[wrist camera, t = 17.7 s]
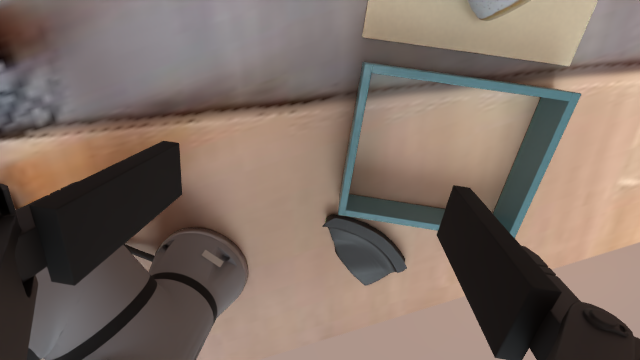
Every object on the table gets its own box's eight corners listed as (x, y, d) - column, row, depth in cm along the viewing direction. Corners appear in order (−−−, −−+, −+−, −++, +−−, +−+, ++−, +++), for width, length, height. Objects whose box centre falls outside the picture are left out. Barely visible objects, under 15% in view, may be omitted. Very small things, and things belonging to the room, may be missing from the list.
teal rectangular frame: (339, 198, 44) (337, 214, 40) (362, 61, 37) (364, 62, 32) (495, 222, 44) (512, 242, 39) (552, 88, 36) (581, 93, 32)
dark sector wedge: (358, 197, 44) (359, 202, 42) (407, 261, 48) (409, 267, 46) (313, 224, 46) (312, 230, 45) (363, 283, 50) (363, 290, 49)
